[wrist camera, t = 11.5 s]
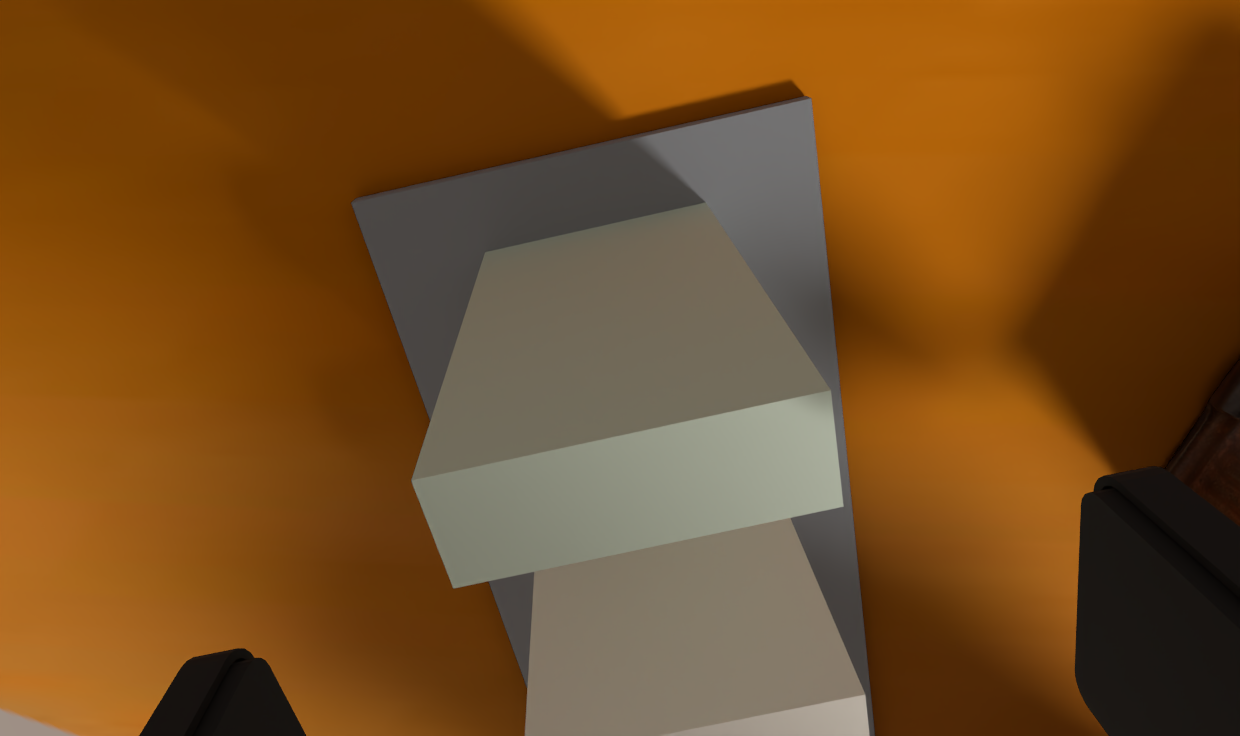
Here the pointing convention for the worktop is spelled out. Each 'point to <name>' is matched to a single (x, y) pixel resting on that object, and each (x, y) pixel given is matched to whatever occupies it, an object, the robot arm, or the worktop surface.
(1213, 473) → the dark block with crank
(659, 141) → the mat
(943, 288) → the worktop surface
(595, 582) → the domino
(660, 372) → the domino
